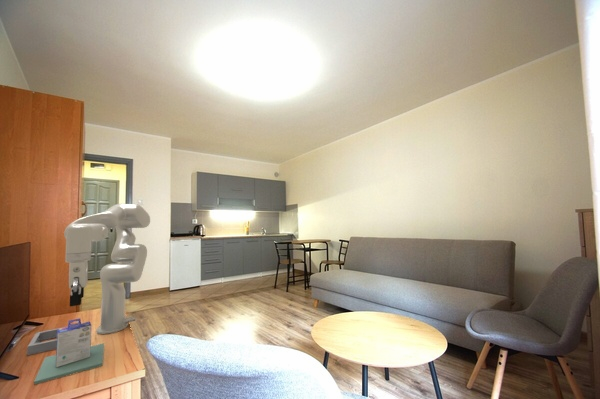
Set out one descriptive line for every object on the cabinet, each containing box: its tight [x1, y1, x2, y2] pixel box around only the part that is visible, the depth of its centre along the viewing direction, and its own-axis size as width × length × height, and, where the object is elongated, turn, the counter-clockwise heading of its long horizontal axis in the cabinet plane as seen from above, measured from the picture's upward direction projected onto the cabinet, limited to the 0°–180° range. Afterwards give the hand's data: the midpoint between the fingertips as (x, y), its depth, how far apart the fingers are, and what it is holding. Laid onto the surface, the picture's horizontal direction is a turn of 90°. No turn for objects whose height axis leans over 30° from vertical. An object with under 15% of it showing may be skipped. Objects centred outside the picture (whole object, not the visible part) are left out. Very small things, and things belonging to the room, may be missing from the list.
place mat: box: [33, 343, 105, 386], centre depth 97 cm, size 18×18×1 cm
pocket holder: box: [26, 325, 68, 356], centre depth 112 cm, size 15×15×4 cm
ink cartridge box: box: [55, 317, 92, 367], centre depth 97 cm, size 10×6×14 cm, turn 135°
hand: (76, 301), depth 98 cm, fingers open, 9 cm apart
